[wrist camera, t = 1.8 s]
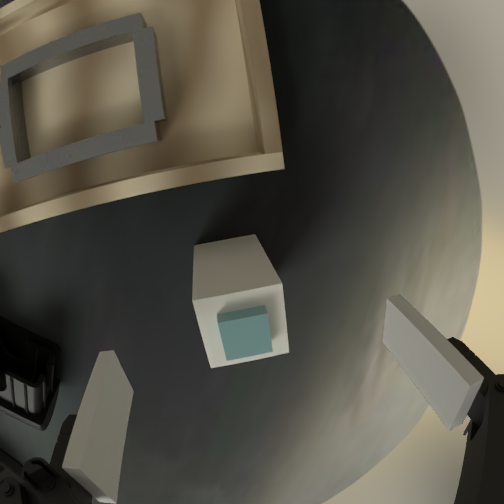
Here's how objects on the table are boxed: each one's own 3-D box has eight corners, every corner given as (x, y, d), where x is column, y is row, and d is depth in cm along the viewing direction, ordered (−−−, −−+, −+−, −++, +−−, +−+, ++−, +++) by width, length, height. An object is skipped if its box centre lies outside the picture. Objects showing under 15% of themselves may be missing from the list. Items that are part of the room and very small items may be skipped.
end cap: (-17, 356, 23) (-44, 396, 16) (-20, 304, 21) (-56, 343, 15) (60, 394, 26) (43, 443, 19) (65, 346, 24) (41, 398, 17)
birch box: (-17, 232, 19) (-40, 246, 16) (-39, 57, 13) (-62, 52, 10) (271, 163, 21) (284, 168, 18) (240, -38, 15) (247, -61, 12)
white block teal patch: (206, 298, 24) (211, 377, 16) (194, 245, 22) (192, 308, 14) (262, 288, 24) (292, 361, 16) (255, 234, 23) (286, 290, 15)
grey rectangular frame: (22, 181, 18) (7, 185, 16) (8, 73, 14) (-6, 70, 13) (170, 138, 19) (167, 138, 17) (155, 20, 15) (150, 10, 14)
